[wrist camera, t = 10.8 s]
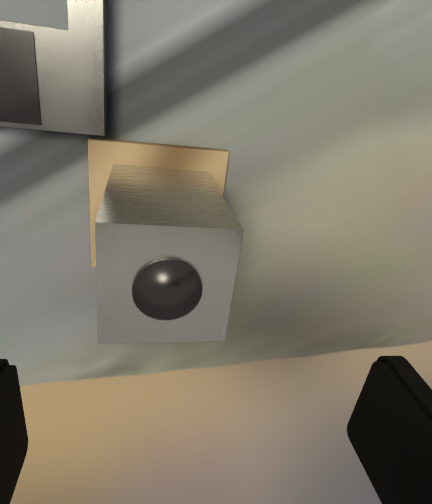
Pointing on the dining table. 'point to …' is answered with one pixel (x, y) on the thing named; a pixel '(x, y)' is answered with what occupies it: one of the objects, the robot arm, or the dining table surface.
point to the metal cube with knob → (164, 257)
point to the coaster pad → (148, 155)
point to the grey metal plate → (56, 73)
